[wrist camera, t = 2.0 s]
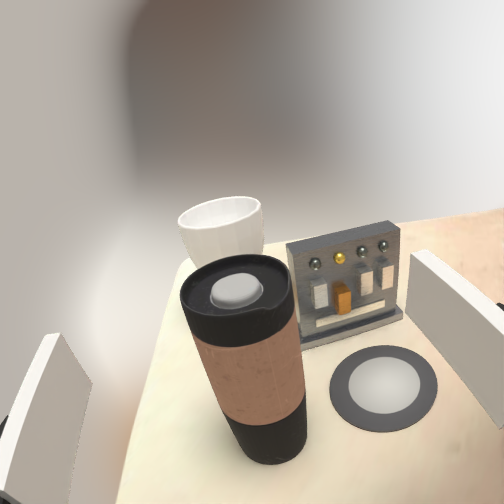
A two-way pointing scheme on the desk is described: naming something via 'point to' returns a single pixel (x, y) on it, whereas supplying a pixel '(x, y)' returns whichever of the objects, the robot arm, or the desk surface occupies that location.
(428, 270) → the robot arm
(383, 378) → the pad
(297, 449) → the travel mug
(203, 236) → the cup
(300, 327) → the breaker panel
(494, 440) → the desk surface
